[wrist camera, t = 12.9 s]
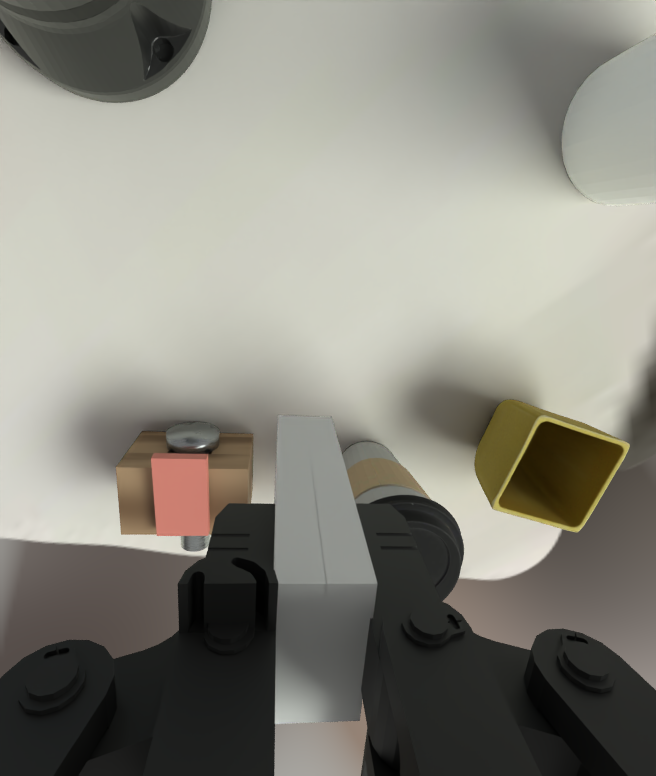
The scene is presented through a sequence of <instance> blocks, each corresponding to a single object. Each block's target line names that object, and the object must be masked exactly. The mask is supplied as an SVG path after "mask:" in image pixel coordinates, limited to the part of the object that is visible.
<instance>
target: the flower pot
mask: <svg viewBox="0 0 656 776" xmlns="http://www.w3.org/2000/svg"><path fill="white" fill-rule="evenodd" d="M629 447H630V445H629V444H628V443H627V442H625V441H622V440H620V439H618V438H616V437H613V436H611V435H609V434H607V433H605V432H602V431H600V430H598V429H596V428H594V427H591V426H589V425H587V424H585V423H582V422H579V421H576V420H573V419H570V418H566V417H563V416H560V415H557V414H554V413H551V412H548V411H545V410H542V409H539V408H537V407H534V406H531V405H528V404H525V403H523V402H520V401H517V400H505V401H503V402H501V403H500V404H499V405H498V406H497V408H496V410H495V413H494V415H493V417H492V419H491V421H490V423H489V425H488V427H487V429H486V431H485V433H484V435H483V437H482V439H481V441H480V443H479V445H478V448H477V451H476V455H475V472H476V475H477V478H478V480H479V482H480V484H481V487H482V489H483V491H484V493H485V495H486V497H487V499H488V501H489V503H490V505H491V507H492V509H494V510H496V511H500V512H504V513H507V514H511V515H515V516H518V517H522V518H526V519H529V520H533V521H537V522H540V523H543V524H547V525H551V526H554V527H557V528H561V529H564V530H568V531H573V532H579V531H580V530H581V528H582V527H583V526H584V524H585V522H586V521H587V520H588V518H589V517H590V515H591V513H592V512H593V510H594V508H595V506H596V505H597V503H598V501H599V500H600V498H601V497H602V495H603V493H604V491H605V490H606V488H607V486H608V484H609V483H610V481H611V479H612V478H613V476H614V474H615V473H616V471H617V469H618V468H619V466H620V465H621V463H622V461H623V460H624V458H625V456H626V454H627V451H628V449H629Z"/></svg>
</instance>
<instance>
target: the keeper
mask: <svg viewBox="0 0 656 776" xmlns="http://www.w3.org/2000/svg"><path fill="white" fill-rule="evenodd" d="M151 466H152V479H153V492H154V505H155V518H156V531H157V536H209V531H210V510H209V470H208V454H179V453H154V454H153V455H152V457H151Z"/></svg>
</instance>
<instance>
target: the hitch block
mask: <svg viewBox="0 0 656 776" xmlns="http://www.w3.org/2000/svg"><path fill="white" fill-rule="evenodd" d="M154 453H172V452H170V451H169V450H168V449H167V447H166V432H154V431H142V432H141V433H140V435H139V436H138V438H137V439H136V440H135V442H134V443H133V444H132V446H131V447H130V449H129V450H128V451H127V453H126V454H125V455H124V457H123V458H122V460H121V461H120V462H119V464H118V465H117V466H116V475H117V488H118V500H119V513H120V525H121V534H157V531H156V518H155V505H154V492H153V479H152V466H151V457H152V455H153V454H154ZM208 470H209V510H210V531H209V534H212V529H213V525H214V521H215V517H216V516H217V515H218V514H219V513H220V512H221V511H222V510H223V509H224V508H225V507H226V506H227V504H228V503H244V504H251V498H252V480H253V434H239V433H219V446H218V448H217V449H215V450H214V451H212V452H209V454H208Z"/></svg>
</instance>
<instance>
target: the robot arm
mask: <svg viewBox="0 0 656 776" xmlns="http://www.w3.org/2000/svg"><path fill="white" fill-rule="evenodd" d="M211 2H212V0H0V36H1V37H2V38H3V39H4V41H5V42H6V43H7V44H8V45H9V46H10V47H11V48H12V49H13V50H14V51H15V52H16V53H17V54H18V55H19V56H20V57H21V58H22V59H23V60H24V61H25V62H26V63H28V64H29V65H30V66H31V67H33V68H34V69H35V70H37V71H38V72H39V73H41V74H42V75H44V76H45V77H47V78H48V79H50V80H51V81H53V82H54V83H56V84H57V85H59V86H61V87H62V88H64V89H66V90H68V91H70V92H72V93H74V94H77V95H80V96H82V97H85V98H89V99H92V100H97V101H102V102H113V103H122V102H132V101H137V100H141V99H144V98H147V97H150V96H153V95H155V94H157V93H159V92H161V91H162V90H164V89H166V88H167V87H169V86H170V85H171V84H173V83H174V82H175V81H176V80H177V79H178V78H179V77H180V76H181V75H182V74H183V73H184V72H185V71H186V70H187V68H188V67H189V66H190V64H191V63H192V62H193V60H194V58H195V57H196V55H197V53H198V51H199V49H200V47H201V45H202V42H203V40H204V37H205V34H206V31H207V27H208V23H209V18H210V12H211ZM411 534H412V533H411V531H410V529H409V526H408V524H407V522H406V519H405V517H404V516H403V515H401V514H400V513H399V512H398V511H397V510H396V509H395V508H394V507H393V506H392V505H390V504H363V503H355V500H354V496H353V492H352V489H351V485H350V481H349V478H348V474H347V471H346V467H345V463H344V460H343V456H342V452H341V449H340V445H339V441H338V438H337V434H336V431H335V427H334V423H333V420H332V417H320V416H291V415H278V426H277V449H276V471H275V493H274V504H244V503H228V504H227V506H226V507H225V508H224V509H223V510H222V511H221V512H220V513H219V514H218V515H217V516H216V517H215V521H214V525H213V529H212V534H211V538H210V542H209V546H208V551H207V555H206V558H204V559H201V560H199V561H197V562H196V563H195V564H194V565H192V566H191V567H190V568H188V569H187V570H186V571H185V572H184V574H183V576H182V578H181V579H180V581H179V583H178V603H179V604H178V607H179V631H178V632H176V633H175V634H174V635H173V636H172V637H170V638H169V639H167V640H166V641H164V642H162V643H160V644H159V645H156V646H154V647H151V648H148V649H146V650H143V651H140V652H136V653H133V654H129V655H126V656H122V657H119V658H116V659H113V658H112V657H111V655H110V654H109V652H108V651H107V650H106V648H105V647H104V646H101V645H99V644H97V643H94V642H92V641H89V640H67V641H63V642H59V643H56V644H52V645H48V646H45V647H43V648H41V649H40V650H38V651H36V652H34V653H32V654H30V655H28V656H26V657H24V658H23V659H22V660H21V661H20V662H18V663H17V664H16V665H15V666H14V667H12V668H11V669H10V670H9V671H8V672H7V673H5V674H4V675H3V676H2V677H1V678H0V776H274V749H275V747H274V746H275V744H274V743H275V724H286V723H311V722H338V721H359V720H360V714H361V707H362V699H363V704H364V709H365V715H366V721H367V727H368V728H367V735H366V742H365V749H364V757H363V765H362V771H361V776H656V690H655V689H654V688H653V687H652V686H651V685H649V683H647V682H646V681H645V680H644V679H643V678H642V677H641V676H640V675H639V674H638V673H637V672H636V671H635V670H633V669H632V668H631V667H630V666H629V665H628V664H627V663H626V662H625V661H624V660H623V659H622V658H621V657H620V656H618V655H617V654H616V653H614V652H613V651H612V650H610V649H609V648H608V647H606V646H605V645H603V643H601V642H599V641H597V640H595V639H593V638H591V637H588V636H586V635H585V634H583V633H579V632H575V631H570V630H566V629H549V630H546V631H544V632H542V633H541V634H539V635H537V636H536V638H535V641H534V643H533V646H532V648H531V650H527V649H523V648H519V647H515V646H511V645H507V644H504V643H499V642H495V641H492V640H490V639H486V638H484V637H481V636H479V635H477V634H475V633H473V631H472V629H471V627H470V626H469V624H468V623H467V622H466V620H465V619H464V617H463V616H462V615H461V614H460V613H459V612H457V611H456V610H455V609H453V608H452V607H451V606H450V605H448V604H446V603H444V602H442V601H441V600H440V597H439V595H438V593H437V590H436V588H435V586H434V584H433V581H432V579H431V577H430V574H429V572H428V570H427V567H426V565H425V563H424V561H423V558H422V556H421V554H420V551H419V550H417V545H416V542H415V540H414V538H413V536H412V535H411Z"/></svg>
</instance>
